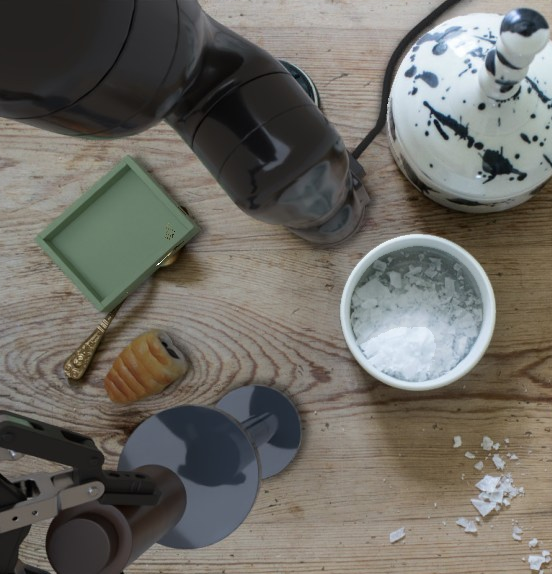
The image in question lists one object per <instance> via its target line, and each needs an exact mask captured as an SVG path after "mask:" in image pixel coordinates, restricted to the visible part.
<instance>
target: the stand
mask: <svg viewBox="0 0 552 574" xmlns="http://www.w3.org/2000/svg"><path fill="white" fill-rule="evenodd" d="M302 441H303V420H302V417H301V414H300V412H299V409H298V407H297V406H296V404H295V403H294V402H293V400H292V399H291V397H289V396H288V395H287V394H286V393H284V392H283V391H281V390H279V389H278V388H276V387H273V386H270V385H267V384H258V383H257V384H255V383H254V384H253V383H252V384H246V385H243V386H239V387H237V388H234V389H233V390H231V391H229V392H228V393H226V394H225V395H224V396H223V397H221V398H220V399H219V400H218V401H217V403H216V404H215V406H212V405H208V404H201V403H199V404H198V403H183V404H178V405H173V406H171V407H168V408H165V409H162V410H161V411H158V412H156V413H154V414H152V415H151V416H149V417H148V418H146V419H145V420H144V421H143V422H141V423H140V424H139V425H138V426H137V427H136V428H135V429H134V430H133V431H132V433H131V434H130V436H129V437H128V438H127V439H126V442H125V443H124V445H123V447H122V449H121V452H120V454H119V458H118V462H117V465H116V471H132V470H133V469H135V468H138V467H140V466H143V465H148V464H155V465H161V466H164V467H167V468H169V469H170V470H172V471H173V472H175V473H176V474H177V475H178V476H179V478H180V479H181V481H182V482H183V484H184V486H185V490H186V494H187V504H186V509H185V512H184V515H183V517H182V518H181V520H180V521H179V523H178V524H177V525H176V526H175V527H174V528H173V529H171V530H170V531H169V532H168V533H167V534H165V535H164V536H163V537H162V538H161V539H160V540H158V541H157V542H156V543H155V544H157V545H160V546H163V547H166V548H170V549H174V550H197V549H203V548H206V547H209V546H213V545H215V544H217V543H219V542H221V541H223V540H225V539H226V538H228V537H229V536H230V535H232V534H233V533H234V532H235V531H236V530H237V529H238V528H239V527H240V526H241V525H242V524H243V523H244V522H245V520H246V519H248V516H249V515H250V514H251V513H252V511H253V509H254V507H255V505H256V503H257V501H258V498H259V495H260V492H261V487H262V480H265V479H269V478H271V477H273V476H276V475H278V474H279V473H281V472H282V471H283V470H284V469H285V468H287V467H288V466H289V464H290V463H292V461H293V460H294V459H295V457H296V456H297V454H298V452H299V449H300V447H301V444H302Z"/></svg>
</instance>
